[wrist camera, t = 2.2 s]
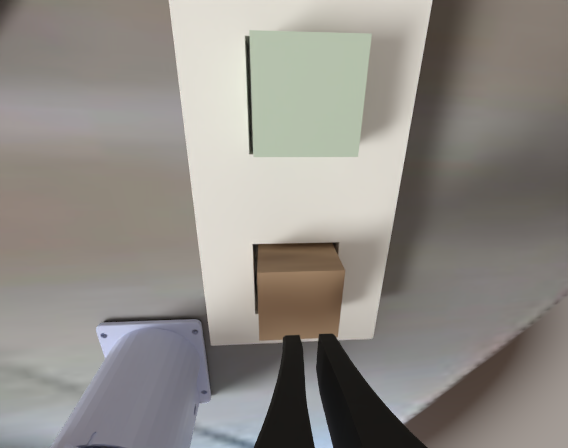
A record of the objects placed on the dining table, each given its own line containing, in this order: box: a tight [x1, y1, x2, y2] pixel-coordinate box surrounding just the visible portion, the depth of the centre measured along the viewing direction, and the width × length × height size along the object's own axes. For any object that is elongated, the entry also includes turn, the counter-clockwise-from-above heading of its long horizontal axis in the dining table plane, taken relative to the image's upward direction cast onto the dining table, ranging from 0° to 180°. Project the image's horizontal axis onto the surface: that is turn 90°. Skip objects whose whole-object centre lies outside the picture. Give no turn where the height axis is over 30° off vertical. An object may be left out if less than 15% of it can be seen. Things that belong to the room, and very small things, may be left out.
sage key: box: [249, 30, 372, 157], centre depth 13 cm, size 4×4×4 cm
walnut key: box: [257, 242, 345, 341], centre depth 16 cm, size 4×4×4 cm
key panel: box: [169, 0, 432, 346], centre depth 17 cm, size 20×11×4 cm, turn 179°
